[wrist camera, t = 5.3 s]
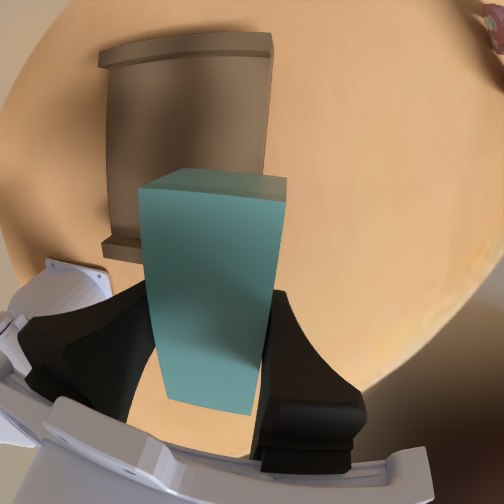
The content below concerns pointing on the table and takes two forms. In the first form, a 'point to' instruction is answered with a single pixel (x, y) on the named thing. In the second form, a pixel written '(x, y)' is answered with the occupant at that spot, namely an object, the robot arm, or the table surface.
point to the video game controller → (495, 26)
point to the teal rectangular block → (211, 280)
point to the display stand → (181, 116)
